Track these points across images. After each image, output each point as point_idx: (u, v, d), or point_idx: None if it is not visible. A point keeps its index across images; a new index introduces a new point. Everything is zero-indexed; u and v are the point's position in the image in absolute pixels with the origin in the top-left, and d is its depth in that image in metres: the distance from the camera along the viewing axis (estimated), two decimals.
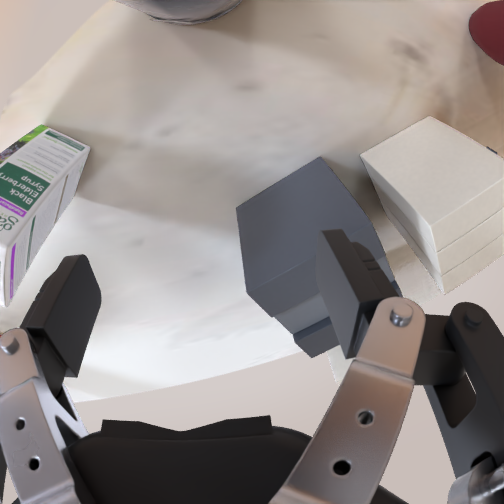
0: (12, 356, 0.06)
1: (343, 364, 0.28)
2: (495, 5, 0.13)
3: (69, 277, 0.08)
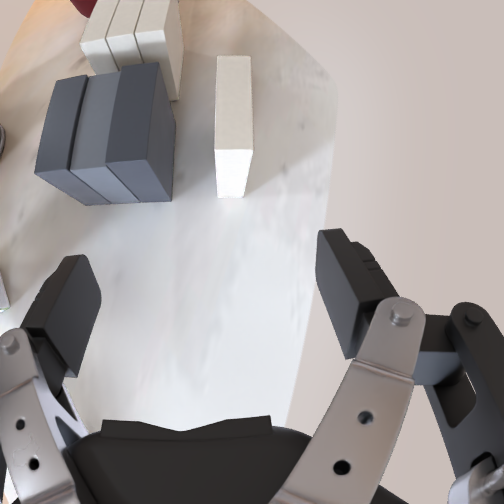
0: (12, 356, 0.06)
1: None
2: None
3: (69, 277, 0.08)
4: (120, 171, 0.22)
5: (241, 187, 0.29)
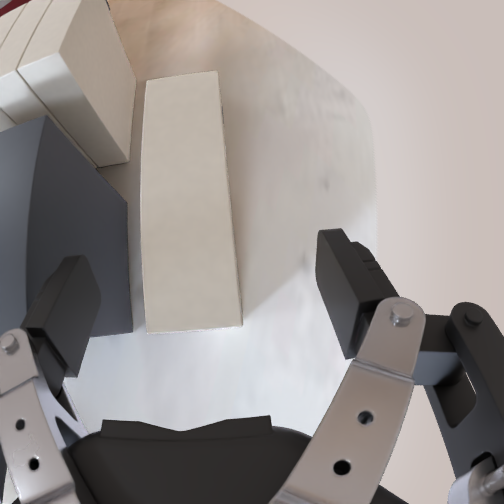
0: (12, 356, 0.06)
1: None
2: None
3: (69, 277, 0.08)
4: None
5: None
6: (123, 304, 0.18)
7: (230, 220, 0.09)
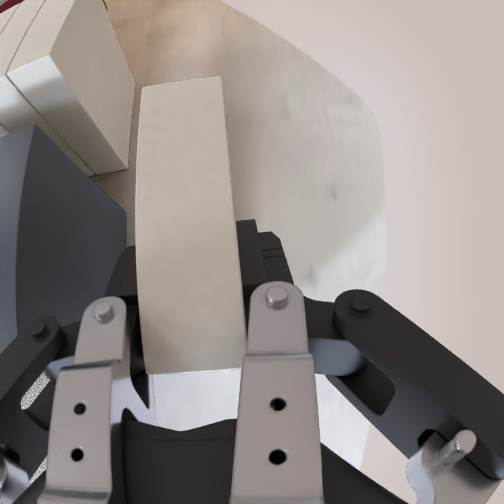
0: (111, 324, 0.07)
1: None
2: None
3: None
4: None
5: None
6: None
7: (236, 250, 0.08)
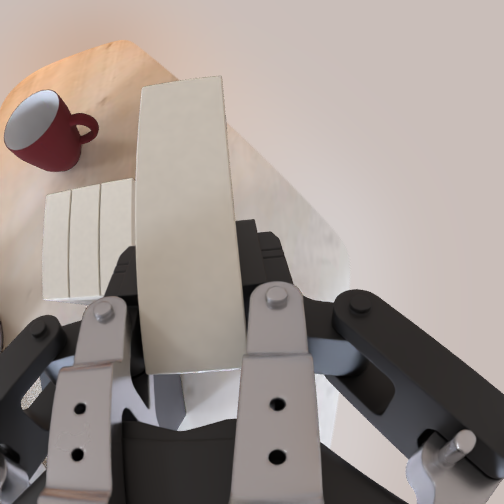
0: (112, 323, 0.07)
1: None
2: None
3: None
4: None
5: None
6: (181, 402, 0.29)
7: (236, 250, 0.08)
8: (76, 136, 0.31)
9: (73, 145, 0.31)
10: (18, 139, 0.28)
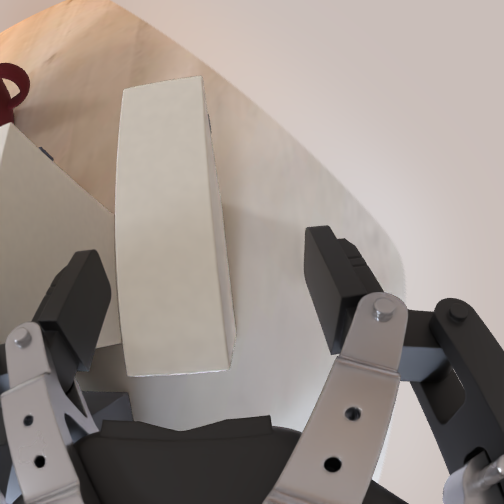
0: (25, 349, 0.06)
1: None
2: None
3: (81, 271, 0.09)
4: None
5: None
6: None
7: (214, 251, 0.08)
8: (1, 98, 0.17)
9: None
10: None
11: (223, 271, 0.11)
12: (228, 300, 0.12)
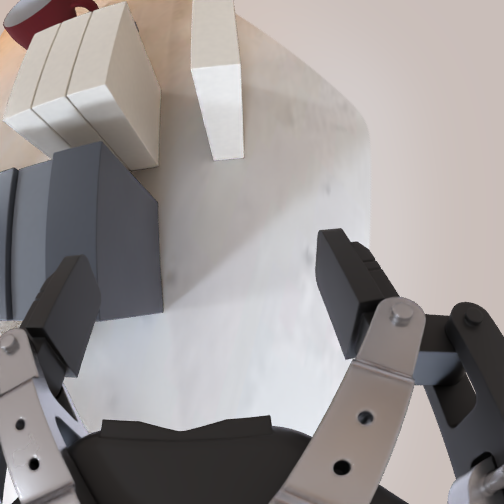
0: (12, 356, 0.06)
1: None
2: None
3: (69, 277, 0.08)
4: None
5: (239, 139, 0.23)
6: (157, 289, 0.23)
7: (236, 30, 0.15)
8: None
9: None
10: None
11: None
12: None
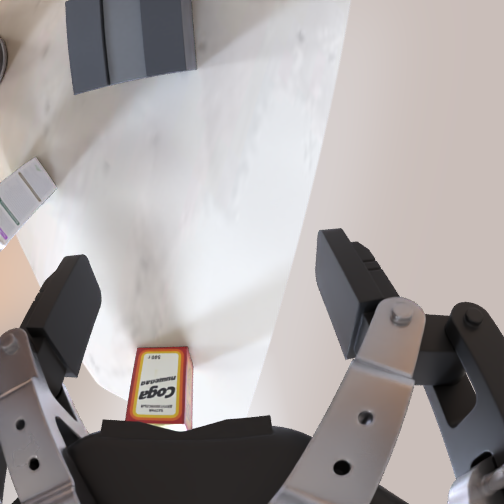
0: (12, 356, 0.06)
1: None
2: None
3: (69, 277, 0.08)
4: None
5: None
6: (194, 54, 0.28)
7: None
8: None
9: None
10: None
11: None
12: None
